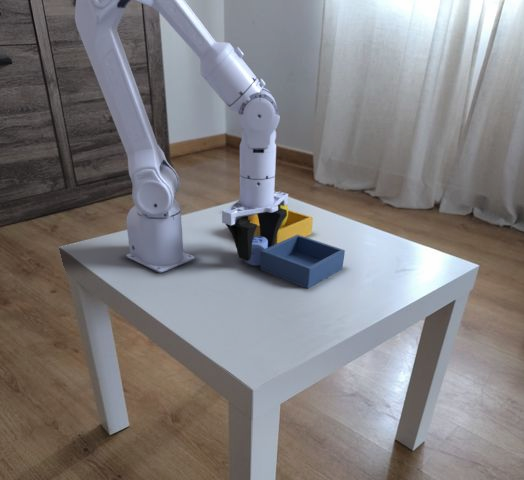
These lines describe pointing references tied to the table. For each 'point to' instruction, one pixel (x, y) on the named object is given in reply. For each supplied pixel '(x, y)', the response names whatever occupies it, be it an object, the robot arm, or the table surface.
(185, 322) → the table surface
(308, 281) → the blue bin
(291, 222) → the yellow bin
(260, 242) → the light blue short cylinder
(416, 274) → the table surface
